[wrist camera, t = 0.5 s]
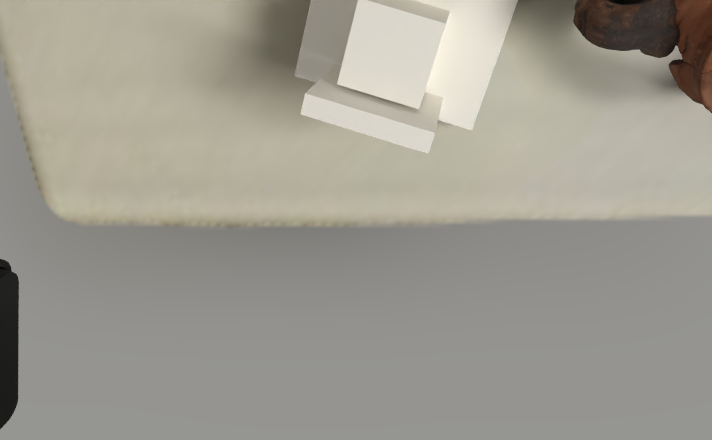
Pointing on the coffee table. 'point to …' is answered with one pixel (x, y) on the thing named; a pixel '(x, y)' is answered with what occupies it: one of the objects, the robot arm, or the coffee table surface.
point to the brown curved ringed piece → (656, 35)
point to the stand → (400, 64)
